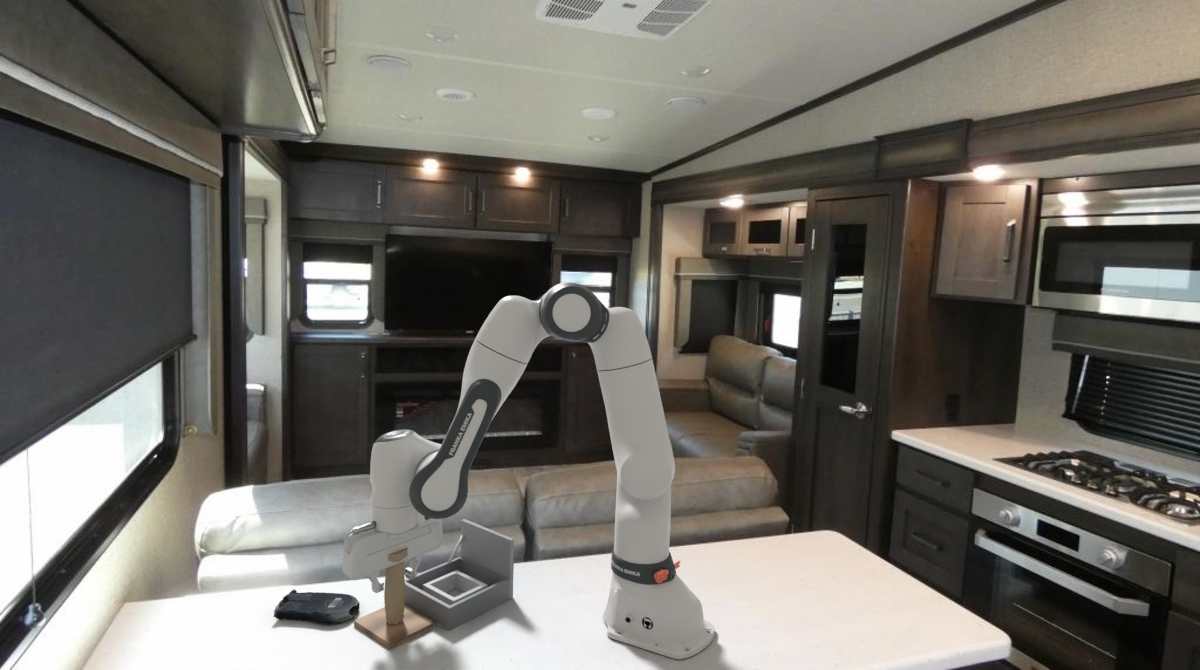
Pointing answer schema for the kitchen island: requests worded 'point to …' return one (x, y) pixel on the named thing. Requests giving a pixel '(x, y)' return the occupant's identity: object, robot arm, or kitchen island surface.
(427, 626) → the walnut pad
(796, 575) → the kitchen island surface
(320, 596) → the electronic device
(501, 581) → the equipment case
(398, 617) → the handle
